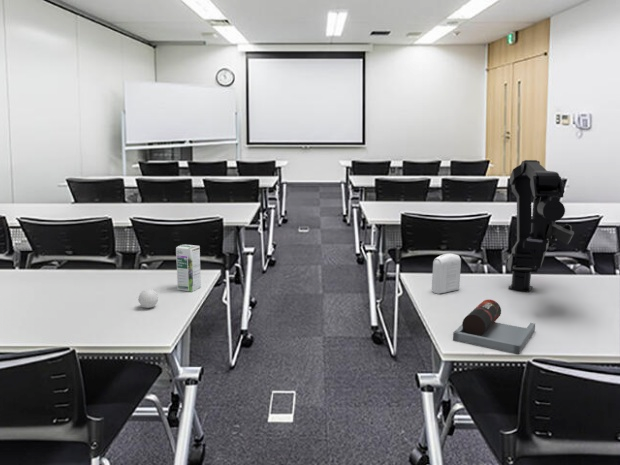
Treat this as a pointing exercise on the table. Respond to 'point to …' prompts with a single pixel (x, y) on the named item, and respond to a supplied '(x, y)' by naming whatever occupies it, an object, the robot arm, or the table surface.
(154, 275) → the table surface
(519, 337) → the tray
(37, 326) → the table surface
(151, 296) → the white bumpy ovoid
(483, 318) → the deodorant
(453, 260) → the photo printer
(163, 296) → the table surface
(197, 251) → the syrup box
